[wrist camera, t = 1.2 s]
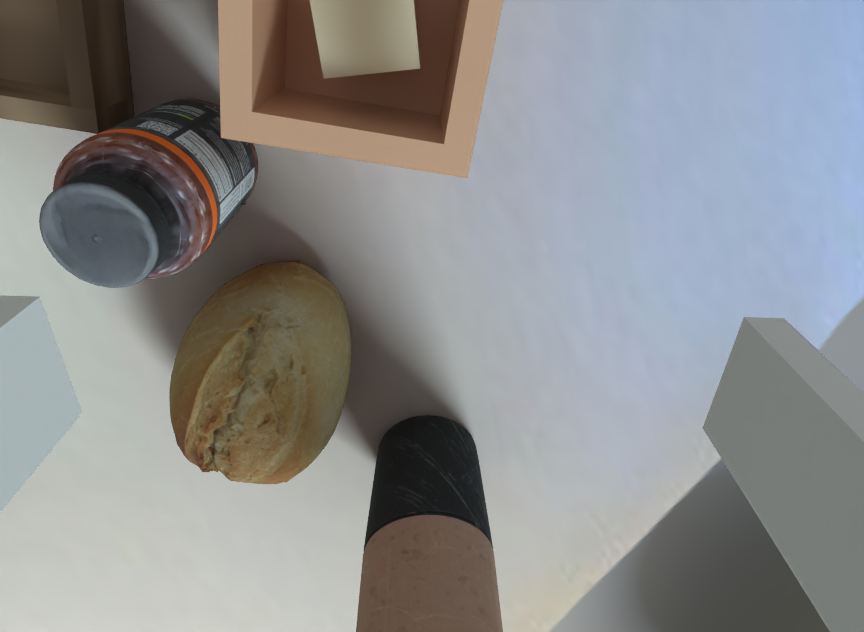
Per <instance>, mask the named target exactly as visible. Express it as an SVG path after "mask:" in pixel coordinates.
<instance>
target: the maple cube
mask: <svg viewBox="0 0 864 632" xmlns="http://www.w3.org/2000/svg"><path fill="white" fill-rule="evenodd" d="M310 5H311V11H312V16H313V22H314V27H315V33H316V39H317V44H318V50H319V55H320V61H321V67H322V72H323V78H324V79H326V78H336V77H345V76H355V75H364V74H374V73H383V72H393V71H402V70H412V69H420V49H419V38H418V28H417V17H416V7H415V0H310Z"/></svg>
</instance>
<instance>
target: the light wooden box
mask: <svg viewBox="0 0 864 632" xmlns="http://www.w3.org/2000/svg"><path fill="white" fill-rule="evenodd" d="M502 5H503V0H415V7H416V17H417V28H418V38H419V49H420V69H412V70H402V71H393V72H383V73H374V74H364V75H355V76H345V77H336V78H326V79H324V78H323V72H322V67H321V61H320V55H319V50H318V44H317V39H316V33H315V27H314V22H313V16H312V11H311V5H310V0H218V29H219V75H220V121H221V138H225V139H231V140H237V141H243V142H249V143H256V144H262V145H268V146H274V147H280V148H286V149H292V150H298V151H304V152H311V153H317V154H323V155H329V156H335V157H341V158H347V159H353V160H359V161H366V162H372V163H378V164H384V165H390V166H396V167H402V168H408V169H414V170H421V171H427V172H433V173H439V174H445V175H451V176H457V177H463V178H467V177H468V172H469V167H470V163H471V158H472V153H473V148H474V143H475V138H476V133H477V128H478V123H479V118H480V113H481V108H482V103H483V99H484V94H485V89H486V84H487V79H488V74H489V69H490V64H491V59H492V54H493V49H494V44H495V39H496V34H497V30H498V25H499V20H500V15H501V10H502Z"/></svg>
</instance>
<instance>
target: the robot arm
mask: <svg viewBox="0 0 864 632" xmlns="http://www.w3.org/2000/svg"><path fill="white" fill-rule="evenodd" d="M81 414H82V411H81V408H80V405H79V402H78V400H77V397H76V394H75V391H74V389H73V386H72V383H71V381H70V378H69V375H68V372H67V370H66V367H65V364H64V361H63V359H62V356H61V353H60V351H59V348H58V345H57V342H56V340H55V337H54V334H53V331H52V329H51V326H50V323H49V321H48V318H47V315H46V312H45V310H44V307H43V304H42V301H41V299H40V297H30V296H0V512H1V511H2V510H3V509H4V508H5V506H6V505H7V504H8V503H9V501H10V500H11V499H12V498H13V497H14V495H15V494H16V493H17V492H18V491H19V489H20V488H21V487H22V486H23V484H24V483H25V482H26V481H27V480H28V478H29V477H30V476H31V475H32V473H33V472H34V471H35V470H36V469H37V467H38V466H39V465H40V464H41V462H42V461H43V460H44V459H45V458H46V456H47V455H48V454H49V453H50V451H51V450H52V449H53V448H54V447H55V445H56V444H57V443H58V442H59V440H60V439H61V438H62V437H63V436H64V434H65V433H66V432H67V431H68V429H69V428H70V427H71V426H72V425H73V423H74V422H75V421H76V420H77V418H78V417H79V416H80V415H81ZM703 429H704V431H705V432H706V434H707V436H708V437H709V439H710V440H711V442H712V444H713V445H714V447H715V448H716V450H717V452H718V453H719V455H720V456H721V458H722V460H723V461H724V463H725V464H726V466H727V468H728V469H729V471H730V472H731V474H732V476H733V477H734V479H735V480H736V482H737V484H738V485H739V487H740V488H741V490H742V492H743V493H744V495H745V496H746V498H747V500H748V501H749V503H750V504H751V506H752V508H753V509H754V511H755V512H756V514H757V516H758V517H759V519H760V520H761V522H762V524H763V525H764V527H765V528H766V530H767V532H768V533H769V535H770V536H771V538H772V539H773V541H774V543H775V544H776V546H777V548H778V549H779V551H780V553H781V554H782V556H783V557H784V559H785V561H786V562H787V564H788V565H789V567H790V568H791V570H792V572H793V573H794V575H795V576H796V578H797V580H798V581H799V583H800V585H801V586H802V588H803V589H804V591H805V593H806V594H807V596H808V597H809V599H810V601H811V602H812V603H813V605H814V607H815V608H816V610H817V612H818V613H819V615H820V616H821V618H822V620H823V621H824V623H825V625H826V626H827V628H828V629H829V631H830V632H864V392H863V391H861V389H859V388H858V387H857V386H856V385H855V384H854V383H853V382H852V381H851V380H849V378H848V377H847V376H845V375H844V374H843V373H842V372H841V371H840V370H839V369H838V368H837V367H836V366H835V365H834V364H832V363H831V362H830V361H829V360H828V359H827V358H826V357H825V356H823V354H822V353H821V352H820V351H818V350H817V349H816V348H815V347H814V346H813V345H812V344H811V343H810V342H809V341H808V340H807V339H806V338H804V337H803V336H802V335H801V334H800V333H799V332H798V331H797V330H796V329H795V328H794V327H793V326H792V325H790V324H789V323H788V322H787V321H786V320H785V319H784V318H752V317H744V319H743V321H742V324H741V327H740V329H739V332H738V335H737V337H736V340H735V343H734V345H733V348H732V351H731V353H730V356H729V359H728V362H727V364H726V367H725V370H724V372H723V375H722V378H721V380H720V383H719V386H718V388H717V391H716V394H715V396H714V399H713V402H712V404H711V407H710V410H709V412H708V415H707V418H706V420H705V423H704V426H703Z"/></svg>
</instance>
